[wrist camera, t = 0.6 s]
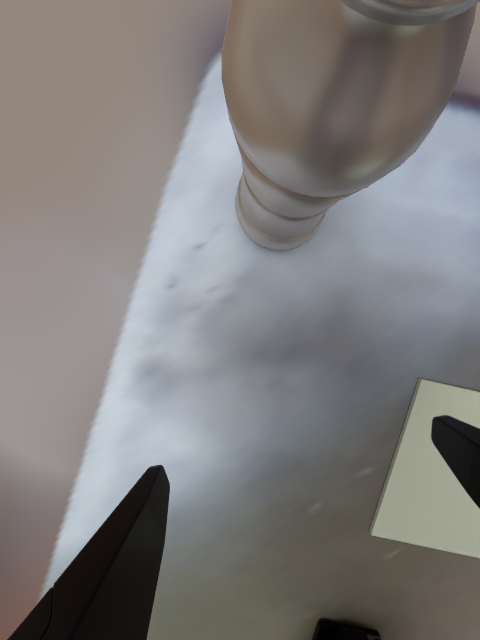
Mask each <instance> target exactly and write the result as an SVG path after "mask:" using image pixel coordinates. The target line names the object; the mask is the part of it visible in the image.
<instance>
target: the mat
mask: <svg viewBox="0 0 480 640" xmlns="http://www.w3.org/2000/svg"><path fill="white" fill-rule="evenodd" d="M442 415H448V416H451V417H453V418H456V419H458V420H461V421H463V422H465V423H468V424H470V425H472V426H475V427H477V428H479V429H480V391H475V390H471V389H466V388H462V387H457V386H453V385H448V384H444V383H439V382H435V381H430V380H426V379H421V378H419V379H418V382H417V385H416V388H415V391H414V394H413V397H412V401H411V404H410V407H409V410H408V413H407V416H406V419H405V422H404V425H403V428H402V431H401V434H400V438H399V441H398V444H397V447H396V450H395V453H394V456H393V459H392V462H391V465H390V468H389V472H388V475H387V478H386V481H385V484H384V487H383V490H382V493H381V496H380V499H379V502H378V505H377V509H376V512H375V515H374V518H373V521H372V524H371V527H370V530H369V532H370V534H371V535H373V536H378V537H382V538H387V539H392V540H397V541H401V542H406V543H411V544H415V545H420V546H425V547H429V548H434V549H439V550H444V551H448V552H453V553H458V554H462V555H467V556H472V557H476V558H480V509H479V508H478V506H477V505H476V504H475V503H474V501H473V500H472V499H471V498H470V496H469V495H468V494H467V492H466V491H465V490H464V488H463V487H462V485H461V484H460V483H459V481H458V480H457V478H456V477H455V475H454V474H453V472H452V471H451V469H450V468H449V466H448V465H447V463H446V462H445V460H444V459H443V457H442V456H441V454H440V453H439V452H438V450H437V449H436V447H435V446H434V444H433V442H432V439H431V428H432V419H433V418H434V417H436V416H442Z"/></svg>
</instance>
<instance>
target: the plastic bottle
mask: <svg viewBox="0 0 480 640" xmlns="http://www.w3.org/2000/svg"><path fill="white" fill-rule="evenodd" d="M478 2H480V0H232V5H231V9H230V14H229V18H228V23H227V27H226V32H225V38H224V43H223V49H222V83H223V88H224V94H225V99H226V104H227V109H228V114H229V120H230V123H231V125H232V129H233V132H234V135H235V138H236V141H237V144H238V147H239V151H240V154H241V158H242V165H243V173H242V176H241V179H240V181H239V184H238V188H237V193H236V198H235V208H236V214H237V218H238V220H239V223H240V225H241V227H242V228H243V230H244V232H245V233H246V234H247V235H248V236H249V237H250V238H251V239H252V240H253V241H255V242H256V243H257V244H259V245H261V246H263V247H265V248H269V249H273V250H287V249H292V248H295V247H297V246H300V245H301V244H303V243H304V242H306V241H307V240H308V239H309V238H310V237H312V236H313V234H314V233H315V232H316V230H317V229H318V227H319V225H320V224H321V222H322V219H323V217H324V215H325V212H326V211H327V209H329V208H330V207H331V206H333V205H334V204H335V203H337V202H338V201H339V200H342V199H344V198H346V197H348V196H350V195H352V194H354V193H356V192H358V191H360V190H362V189H364V188H367V187H368V186H370V185H371V184H373V183H375V182H376V181H378V180H379V179H381V178H383V177H384V176H386V175H387V174H388V173H390V172H391V171H393V170H395V169H396V168H398V167H399V166H400V165H401V164H403V163H404V162H405V161H406V160H407V159H408V158H409V157H410V156H411V155H412V154H413V153H414V152H415V151H416V150H417V149H418V147H419V146H420V145H421V143H422V142H423V141H424V139H425V138H426V137H427V135H428V134H429V133H430V131H431V129H432V128H433V126H434V124H435V123H436V121H437V120H438V118H439V116H440V115H441V113H442V112H443V110H444V108H445V107H446V105H447V102H448V100H449V98H450V96H451V94H452V92H453V90H454V88H455V86H456V84H457V80H458V77H459V73H460V69H461V66H462V63H463V59H464V56H465V52H466V48H467V45H468V41H469V38H470V34H471V30H472V27H473V23H474V19H475V13H476V5H477V3H478Z"/></svg>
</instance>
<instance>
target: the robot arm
mask: <svg viewBox="0 0 480 640" xmlns="http://www.w3.org/2000/svg"><path fill="white" fill-rule="evenodd" d="M431 439H432V442H433V444H434V446H435V447H436V449H437V450H438V452H439V453H440V454H441V456H442V457H443V459H444V460H445V462H446V463H447V465H448V466H449V468H450V469H451V471H452V472H453V474H454V475H455V477H456V478H457V480H458V481H459V483H460V484H461V485H462V487H463V488H464V490H465V491H466V492H467V494H468V495H469V496H470V498H471V499H472V500H473V501H474V503H475V504H476V505H477V506H478V508H479V509H480V429H479V428H477V427H475V426H472V425H470V424H468V423H465V422H463V421H461V420H458V419H456V418H453V417H451V416H448V415H442V416H436V417H434V418H433V419H432V428H431ZM169 493H170V484H169V480H168V478H167V475H166V472H165V469H164V467H163V466H162V465H156V466H151V467H149V468H148V469H147V470H146V472H145V473H144V474H143V475H142V477H141V478H140V479H139V480H138V481H137V483H136V484H135V485H134V486H133V488H132V489H131V490H130V491H129V492H128V494H127V495H126V496H125V497H124V499H123V500H122V501H121V502H120V504H119V505H118V506H117V507H116V508H115V510H114V511H113V512H112V513H111V515H110V516H109V517H108V518H107V519H106V521H105V522H104V523H103V524H102V526H101V527H100V528H99V529H98V531H97V532H96V533H95V534H94V535H93V537H92V538H91V539H90V540H89V542H88V543H87V544H86V545H85V546H84V548H83V549H82V550H81V551H80V553H79V554H78V555H77V556H76V558H75V559H74V560H73V561H72V562H71V564H70V565H69V566H68V567H67V569H66V570H65V571H64V572H63V573H62V575H61V576H60V577H59V578H58V580H57V581H56V582H55V583H54V586H53V587H51V588H50V589H49V590H48V592H47V593H46V594H45V595H44V597H43V598H42V599H41V600H40V602H39V603H38V604H37V605H36V606H35V608H34V609H33V610H32V611H31V612H30V614H29V615H28V616H27V617H26V618H25V620H24V621H23V622H22V623H21V624H20V626H19V627H18V628H17V629H16V630H15V631H14V633H13V634H12V635H11V636H10V637H9V638H8V639H7V640H146V639H147V634H148V628H149V623H150V618H151V613H152V607H153V602H154V597H155V592H156V586H157V581H158V576H159V571H160V565H161V560H162V555H163V549H164V543H165V534H166V524H167V514H168V503H169ZM313 640H381V637H380V634H379V633H378V632H377V631H372V630H368V629H363V628H358V627H353V626H348V625H343V624H339V623H334V622H329V621H324V620H322V621H320V622H319V623H318V625H317V629H316V632H315V635H314V638H313Z"/></svg>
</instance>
